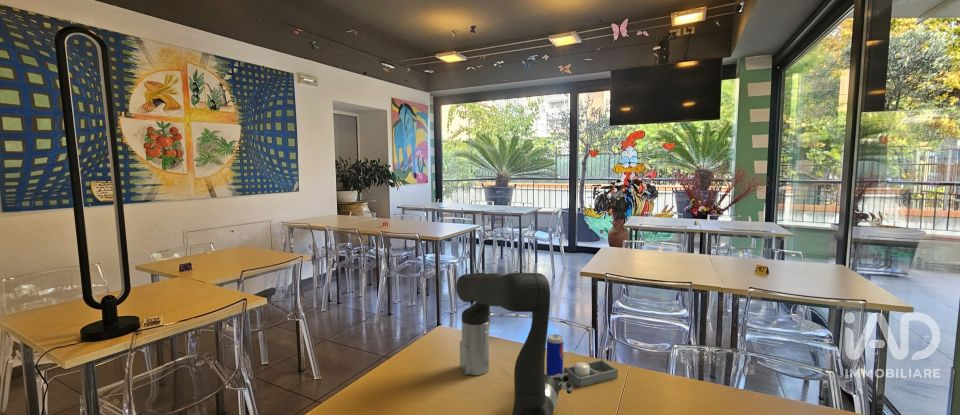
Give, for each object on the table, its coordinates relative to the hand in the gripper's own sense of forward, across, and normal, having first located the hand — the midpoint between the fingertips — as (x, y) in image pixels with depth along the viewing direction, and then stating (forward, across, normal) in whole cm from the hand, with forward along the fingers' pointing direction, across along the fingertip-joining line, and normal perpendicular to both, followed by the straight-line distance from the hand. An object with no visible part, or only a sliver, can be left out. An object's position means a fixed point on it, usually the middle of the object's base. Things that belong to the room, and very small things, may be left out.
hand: (550, 368), depth 124 cm
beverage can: (+9, 0, +9) cm, 13 cm away
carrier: (+14, -11, +9) cm, 20 cm away
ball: (+12, -8, +8) cm, 17 cm away
